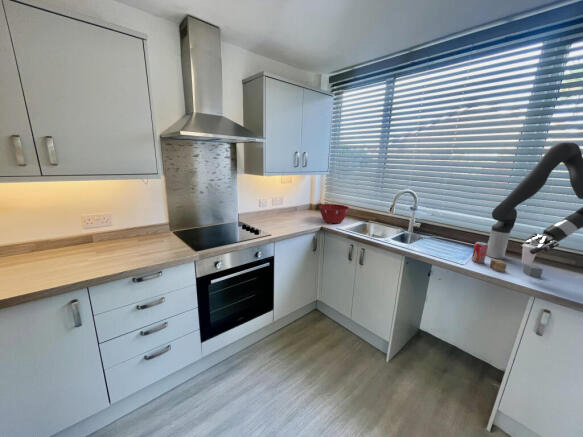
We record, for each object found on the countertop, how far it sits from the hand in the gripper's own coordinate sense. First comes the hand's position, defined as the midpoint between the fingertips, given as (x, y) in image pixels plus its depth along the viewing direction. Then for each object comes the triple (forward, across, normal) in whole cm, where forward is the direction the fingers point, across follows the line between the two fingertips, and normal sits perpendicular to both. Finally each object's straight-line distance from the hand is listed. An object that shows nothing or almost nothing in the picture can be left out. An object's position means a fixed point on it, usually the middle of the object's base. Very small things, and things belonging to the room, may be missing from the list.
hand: (526, 250), depth 125 cm
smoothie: (+4, 0, +6) cm, 7 cm away
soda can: (+19, -19, +4) cm, 27 cm away
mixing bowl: (+83, -92, -60) cm, 138 cm away
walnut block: (+15, -9, +7) cm, 19 cm away
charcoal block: (+4, -6, +18) cm, 19 cm away
